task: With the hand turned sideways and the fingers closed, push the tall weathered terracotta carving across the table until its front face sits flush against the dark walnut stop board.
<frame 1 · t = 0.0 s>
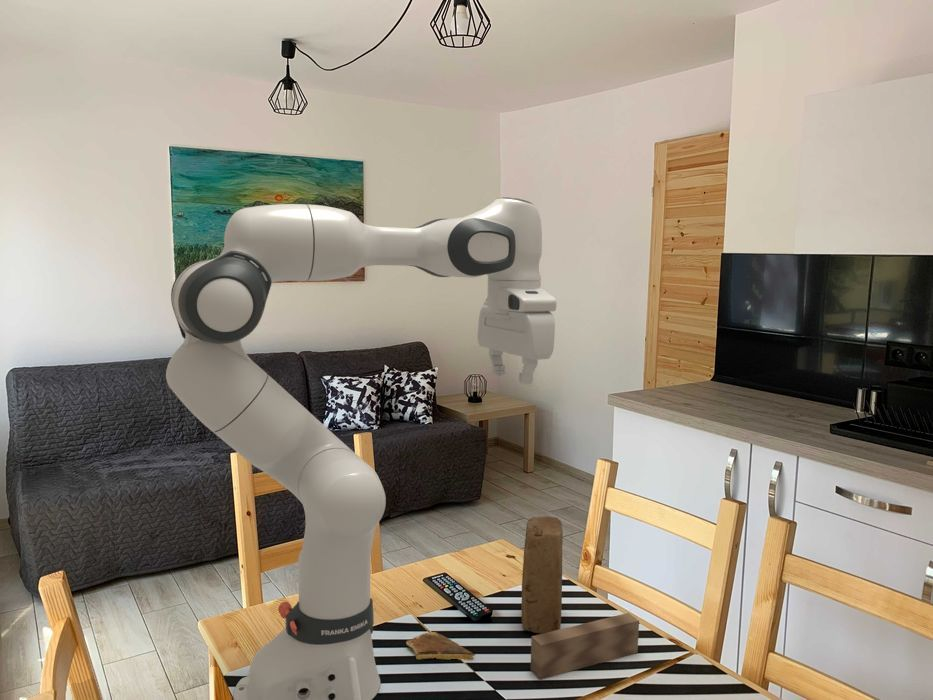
hand: (511, 379, 121), 48 cm above the table, tool pointing down, fingers open, 8 cm apart
weathered terracotta carving: (541, 623, 135), on the table
brown flat angular piece: (440, 651, 126), on the table
board: (585, 661, 122), on the table
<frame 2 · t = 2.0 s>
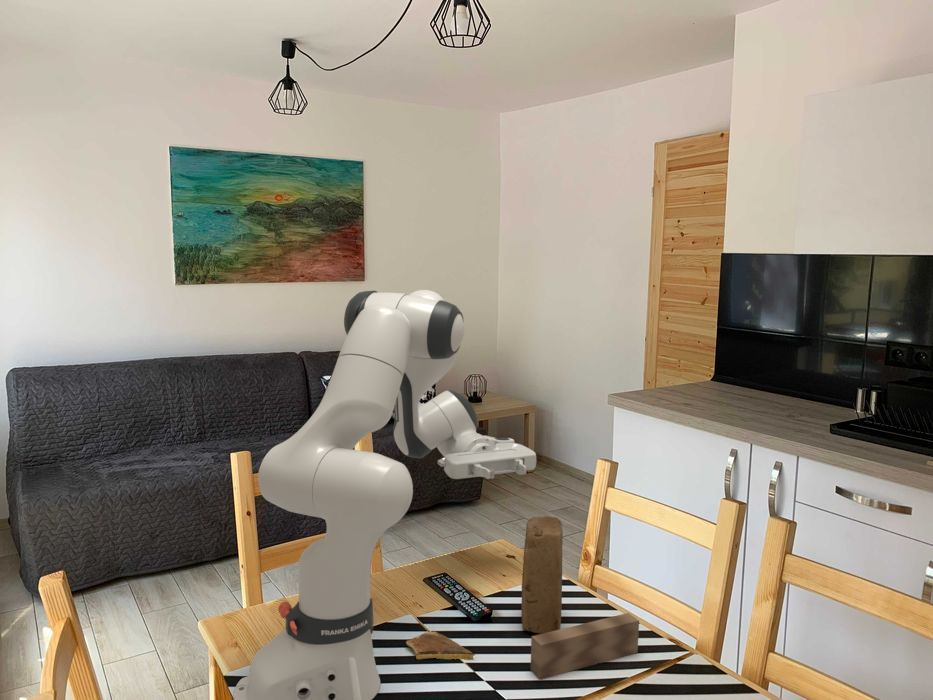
hand: (507, 472, 145), 25 cm above the table, tool horizontal, fingers open, 6 cm apart
nothing on the table moved.
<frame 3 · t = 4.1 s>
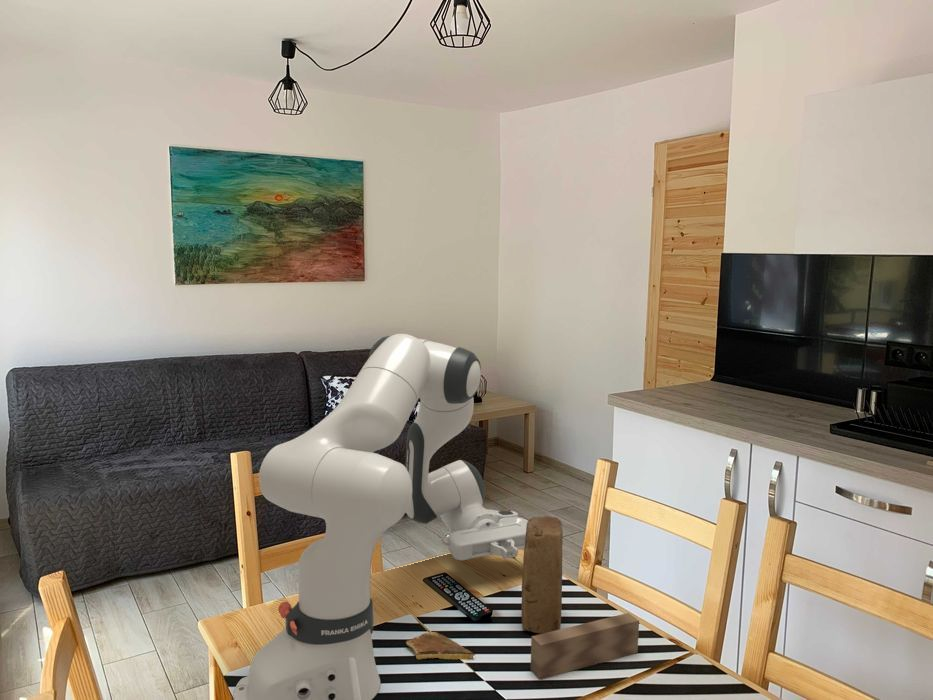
hand: (511, 554, 145), 9 cm above the table, tool horizontal, fingers closed
nothing on the table moved.
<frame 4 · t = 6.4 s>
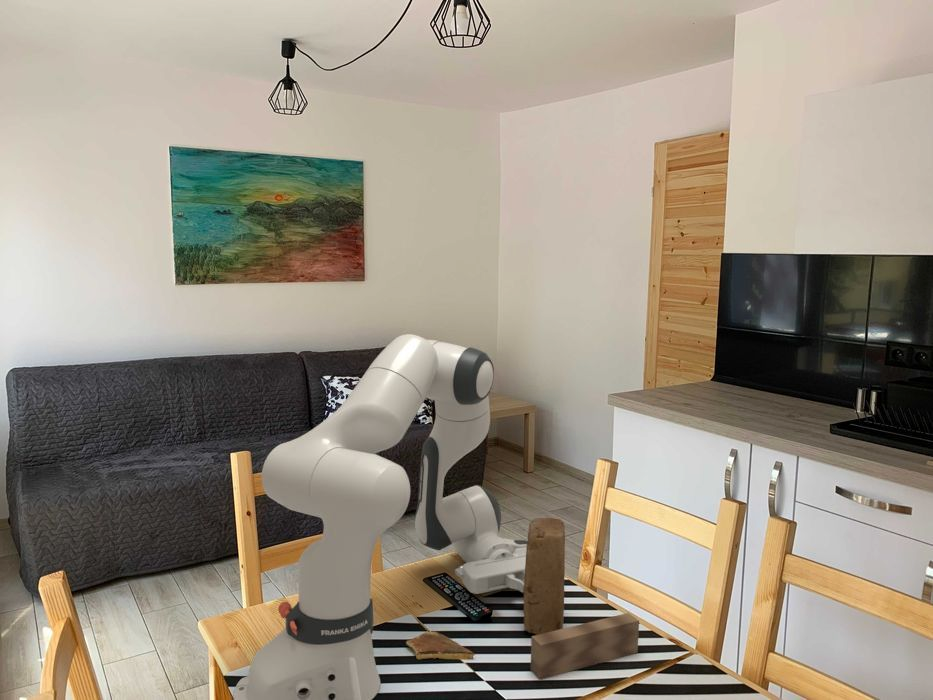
hand: (529, 587, 138), 5 cm above the table, tool horizontal, fingers closed
weathered terracotta carving: (543, 625, 134), on the table, touching gripper
everything else where it was.
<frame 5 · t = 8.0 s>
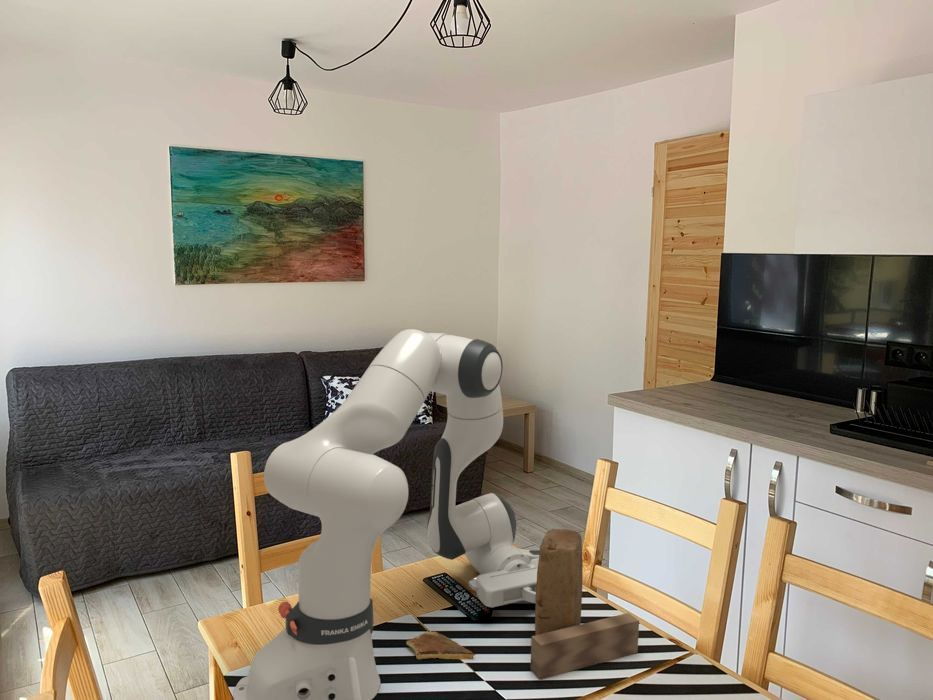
hand: (547, 601, 133), 5 cm above the table, tool horizontal, fingers closed
weathered terracotta carving: (558, 641, 129), on the table, touching gripper
everything else where it was.
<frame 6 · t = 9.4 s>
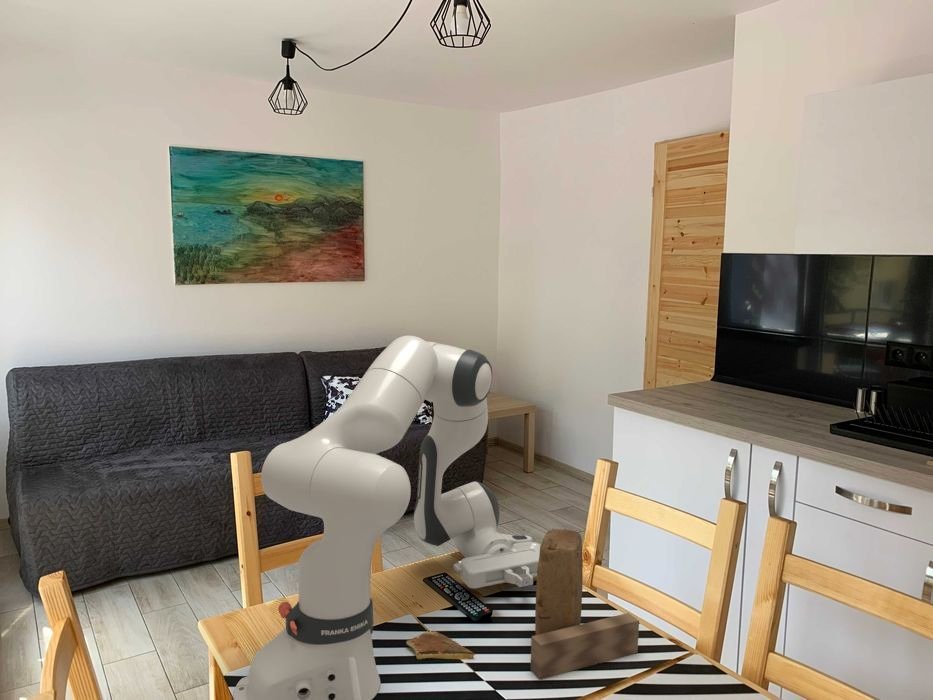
hand: (526, 582, 140), 5 cm above the table, tool horizontal, fingers closed
weathered terracotta carving: (558, 641, 129), on the table
everything else where it was.
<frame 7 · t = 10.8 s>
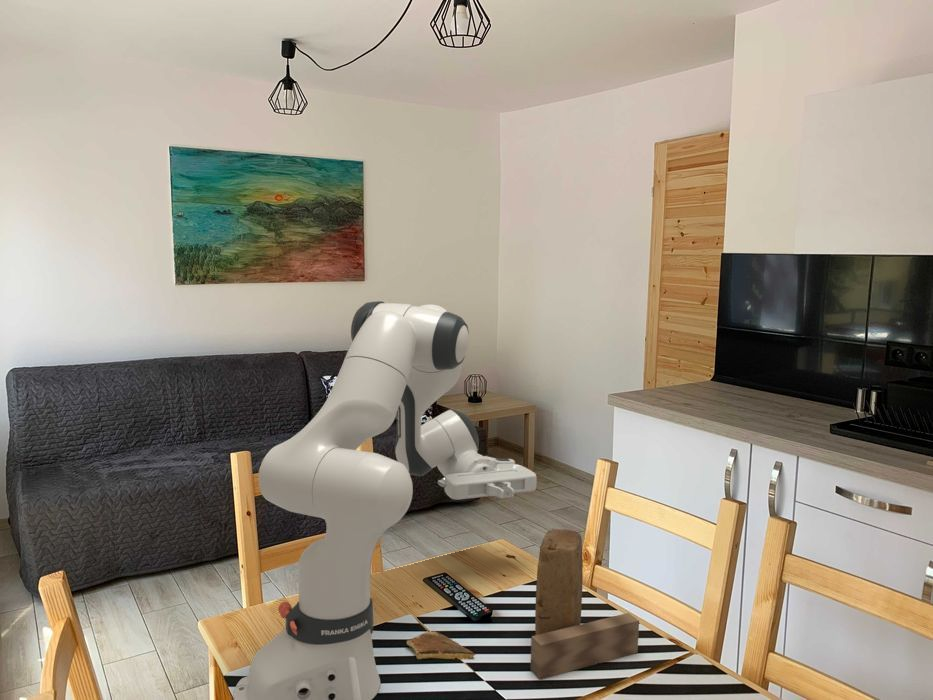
hand: (507, 494, 145), 21 cm above the table, tool horizontal, fingers closed
nothing on the table moved.
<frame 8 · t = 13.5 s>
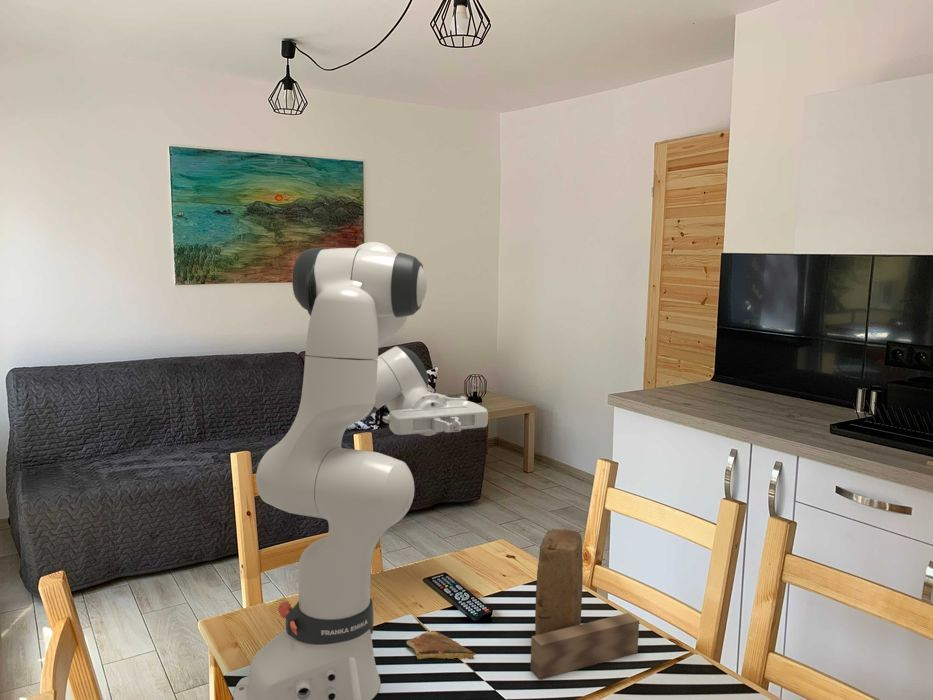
hand: (454, 427, 136), 36 cm above the table, tool horizontal, fingers closed
nothing on the table moved.
at the end: weathered terracotta carving inside the target area on the table beside the board (0.9 cm from its centre), on the table; weathered terracotta carving tilted 0° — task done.
